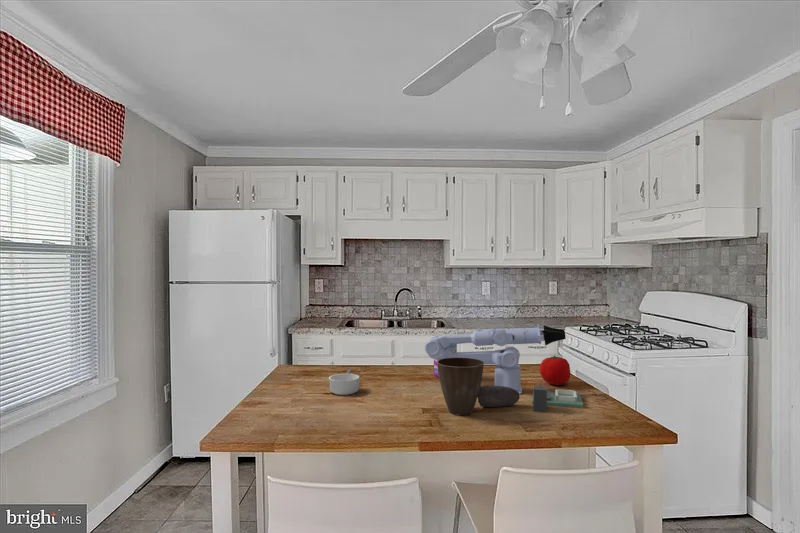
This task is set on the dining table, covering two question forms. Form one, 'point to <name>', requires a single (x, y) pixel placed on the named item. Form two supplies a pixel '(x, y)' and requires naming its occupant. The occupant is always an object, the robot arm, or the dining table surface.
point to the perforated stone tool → (497, 396)
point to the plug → (540, 398)
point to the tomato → (555, 370)
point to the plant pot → (460, 383)
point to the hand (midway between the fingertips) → (564, 334)
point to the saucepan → (344, 383)
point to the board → (563, 398)
